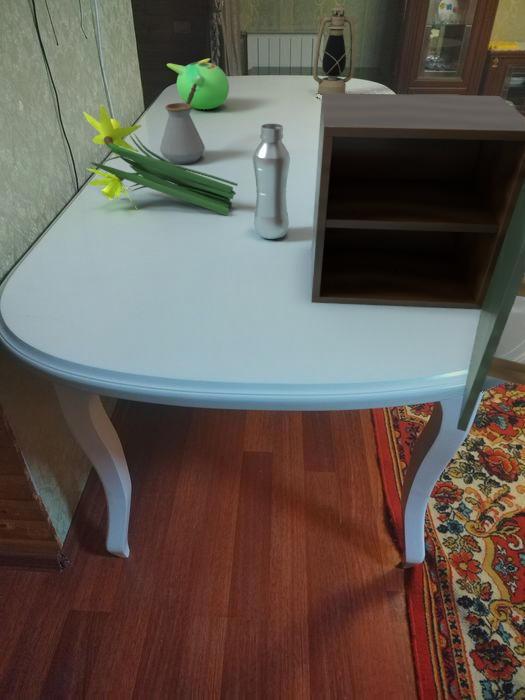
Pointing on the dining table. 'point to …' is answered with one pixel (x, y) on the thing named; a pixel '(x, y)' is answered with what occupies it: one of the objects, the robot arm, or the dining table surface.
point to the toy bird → (202, 84)
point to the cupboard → (413, 198)
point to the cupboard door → (498, 315)
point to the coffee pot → (181, 134)
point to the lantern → (334, 52)
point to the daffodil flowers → (154, 170)
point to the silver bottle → (271, 183)
